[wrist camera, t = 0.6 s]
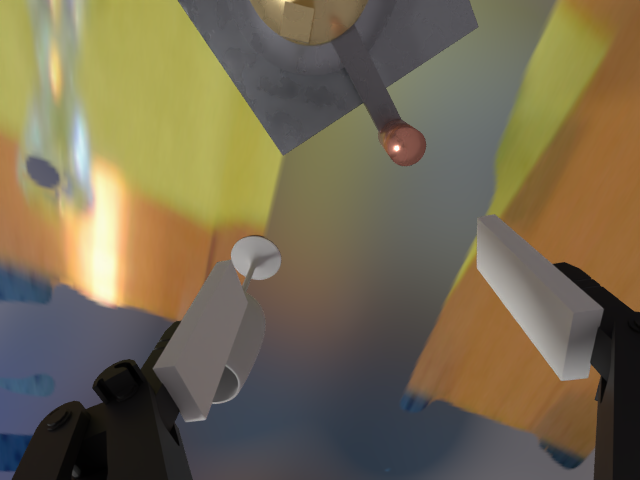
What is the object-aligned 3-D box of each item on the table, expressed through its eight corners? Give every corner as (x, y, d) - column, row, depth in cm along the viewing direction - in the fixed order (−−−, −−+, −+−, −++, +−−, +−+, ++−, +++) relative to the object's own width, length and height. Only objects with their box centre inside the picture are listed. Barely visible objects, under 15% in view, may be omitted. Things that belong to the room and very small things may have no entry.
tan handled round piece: (222, -50, 28) (189, -88, 21) (331, -151, 25) (331, -230, 18) (355, 172, 37) (360, 194, 30) (447, 117, 34) (475, 128, 27)
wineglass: (288, 242, 45) (258, 361, 27) (276, 285, 49) (242, 417, 30) (234, 228, 45) (165, 340, 26) (226, 272, 48) (160, 400, 29)
